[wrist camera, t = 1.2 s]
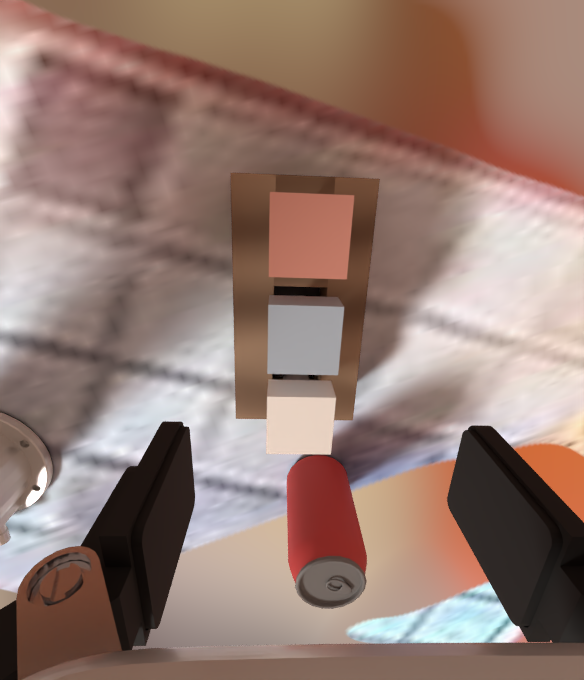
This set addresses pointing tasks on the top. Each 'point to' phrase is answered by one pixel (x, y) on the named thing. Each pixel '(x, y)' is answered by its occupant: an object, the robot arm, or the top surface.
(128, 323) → the top surface
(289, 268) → the brick-red key
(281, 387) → the white key
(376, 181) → the walnut console
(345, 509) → the beer can
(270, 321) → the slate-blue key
